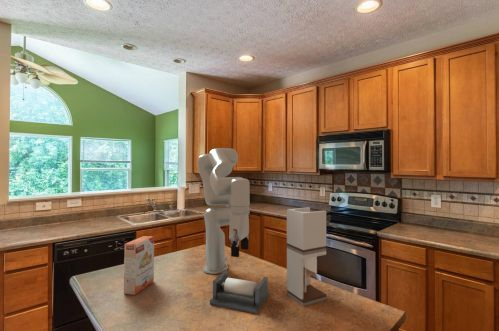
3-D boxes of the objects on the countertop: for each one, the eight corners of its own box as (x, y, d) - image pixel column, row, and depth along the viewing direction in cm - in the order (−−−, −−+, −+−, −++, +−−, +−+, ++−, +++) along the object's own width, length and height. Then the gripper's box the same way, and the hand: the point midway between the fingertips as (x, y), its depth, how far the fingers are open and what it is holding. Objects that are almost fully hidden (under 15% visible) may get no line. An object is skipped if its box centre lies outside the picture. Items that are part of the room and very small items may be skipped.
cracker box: (136, 296, 111) (136, 244, 111) (123, 294, 112) (123, 243, 112) (154, 281, 125) (154, 235, 125) (143, 280, 126) (142, 235, 126)
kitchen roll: (230, 287, 114) (229, 274, 113) (258, 292, 109) (257, 278, 108) (224, 296, 108) (223, 283, 107) (253, 302, 104) (252, 287, 103)
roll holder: (227, 287, 119) (227, 268, 119) (269, 294, 112) (269, 274, 112) (209, 304, 104) (209, 283, 104) (256, 314, 97) (256, 291, 97)
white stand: (303, 306, 103) (303, 213, 103) (286, 294, 112) (286, 209, 112) (326, 299, 108) (326, 210, 108) (308, 288, 117) (308, 207, 117)
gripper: (239, 206, 118) (239, 245, 118) (221, 212, 102) (221, 258, 102) (256, 207, 115) (256, 247, 115) (240, 214, 99) (240, 261, 99)
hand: (240, 252), depth 109 cm, fingers open, 9 cm apart
